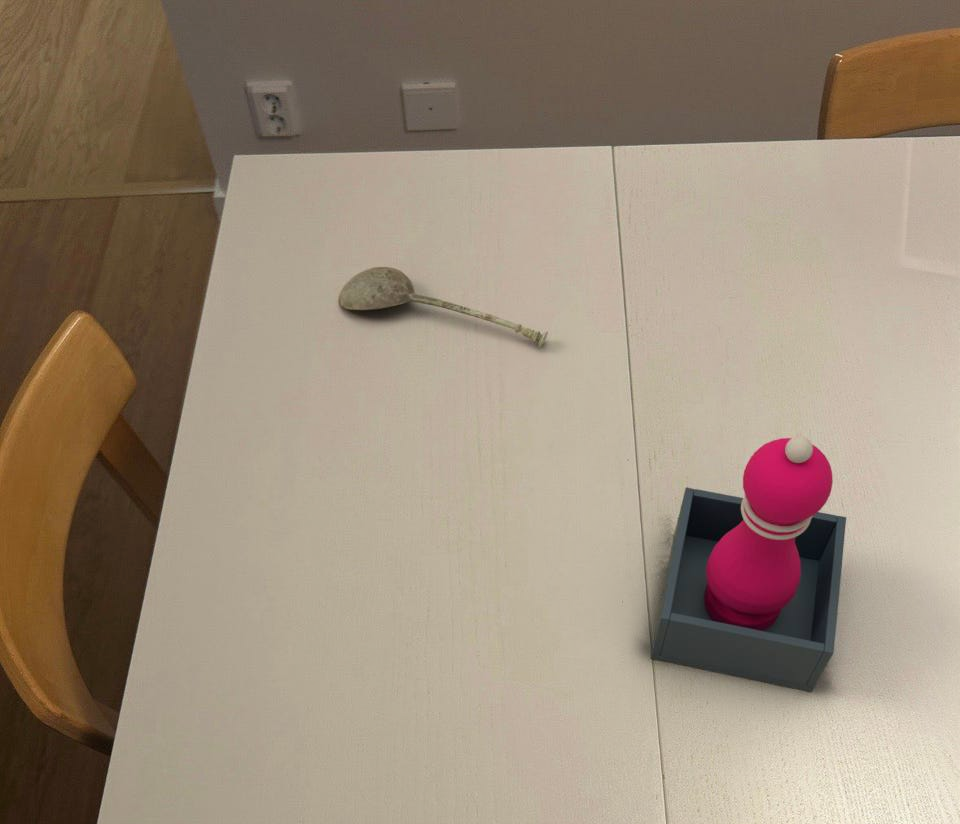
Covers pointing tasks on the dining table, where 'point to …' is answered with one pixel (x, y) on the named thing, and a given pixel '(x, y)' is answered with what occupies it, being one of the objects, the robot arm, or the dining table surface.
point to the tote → (738, 650)
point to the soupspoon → (407, 297)
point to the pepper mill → (767, 534)
